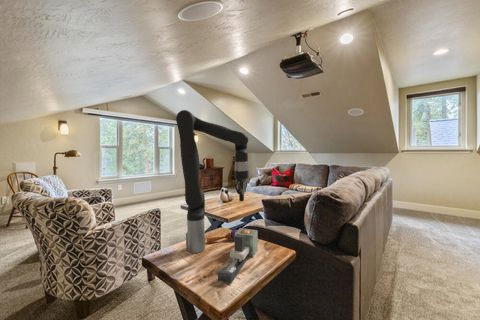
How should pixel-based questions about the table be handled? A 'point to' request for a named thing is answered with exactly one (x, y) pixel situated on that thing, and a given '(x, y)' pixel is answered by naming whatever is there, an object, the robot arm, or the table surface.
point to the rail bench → (231, 274)
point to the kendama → (227, 236)
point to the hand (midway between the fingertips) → (241, 200)
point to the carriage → (239, 248)
